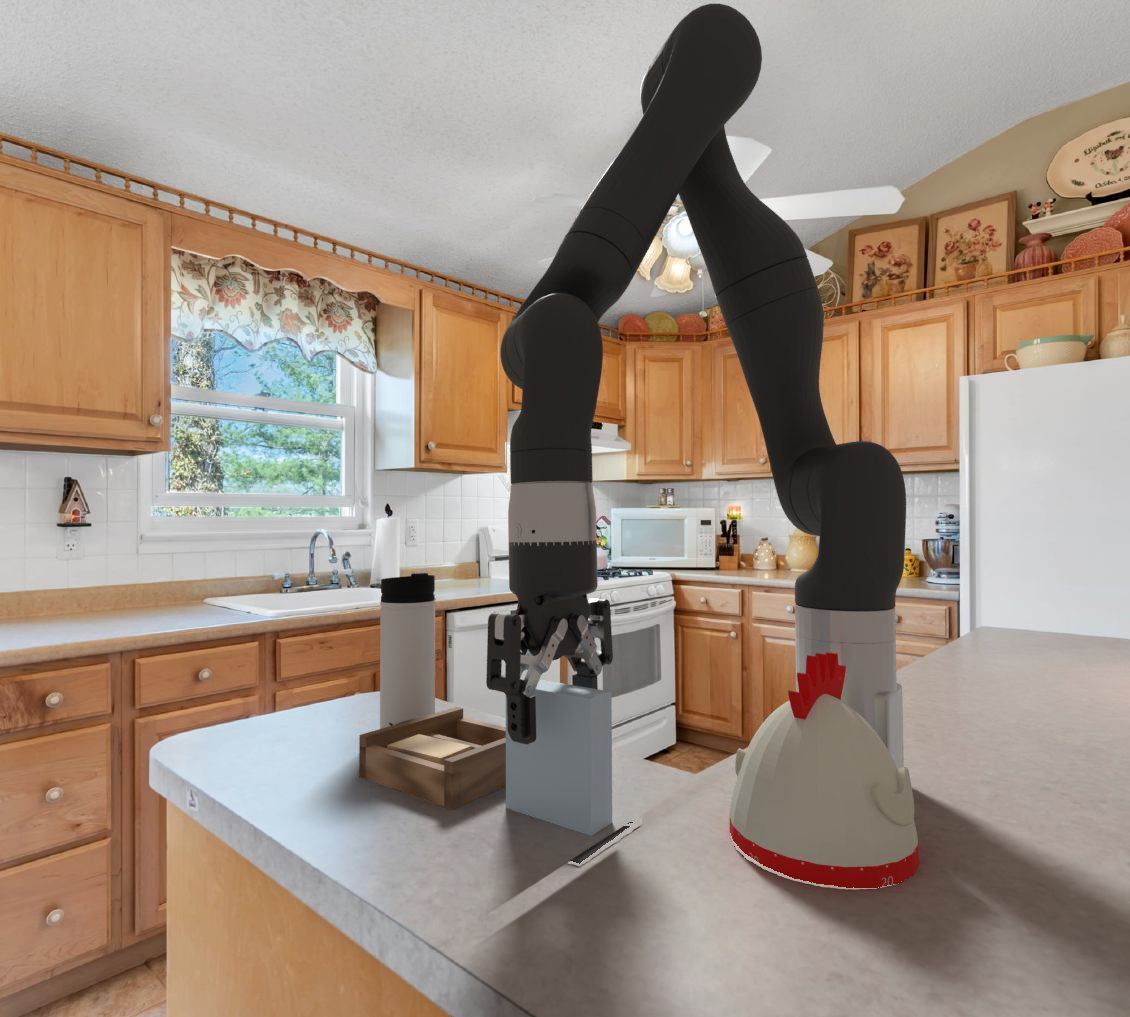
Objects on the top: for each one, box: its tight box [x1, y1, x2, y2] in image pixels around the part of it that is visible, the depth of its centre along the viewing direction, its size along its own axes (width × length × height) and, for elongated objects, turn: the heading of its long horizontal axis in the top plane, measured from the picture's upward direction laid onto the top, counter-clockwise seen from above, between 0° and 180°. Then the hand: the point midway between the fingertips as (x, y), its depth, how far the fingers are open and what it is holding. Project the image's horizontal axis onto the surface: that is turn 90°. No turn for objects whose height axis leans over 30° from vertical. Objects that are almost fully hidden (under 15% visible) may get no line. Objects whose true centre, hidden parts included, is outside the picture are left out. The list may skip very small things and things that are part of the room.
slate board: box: [505, 678, 613, 837], centre depth 58 cm, size 9×3×11 cm, turn 53°
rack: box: [358, 706, 506, 810], centre depth 68 cm, size 13×13×5 cm
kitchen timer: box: [728, 652, 920, 888], centre depth 55 cm, size 14×14×15 cm
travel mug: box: [379, 572, 436, 729], centre depth 80 cm, size 6×7×20 cm
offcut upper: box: [387, 734, 471, 765], centre depth 66 cm, size 7×4×2 cm, turn 57°
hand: (556, 728), depth 58 cm, fingers open, 8 cm apart
